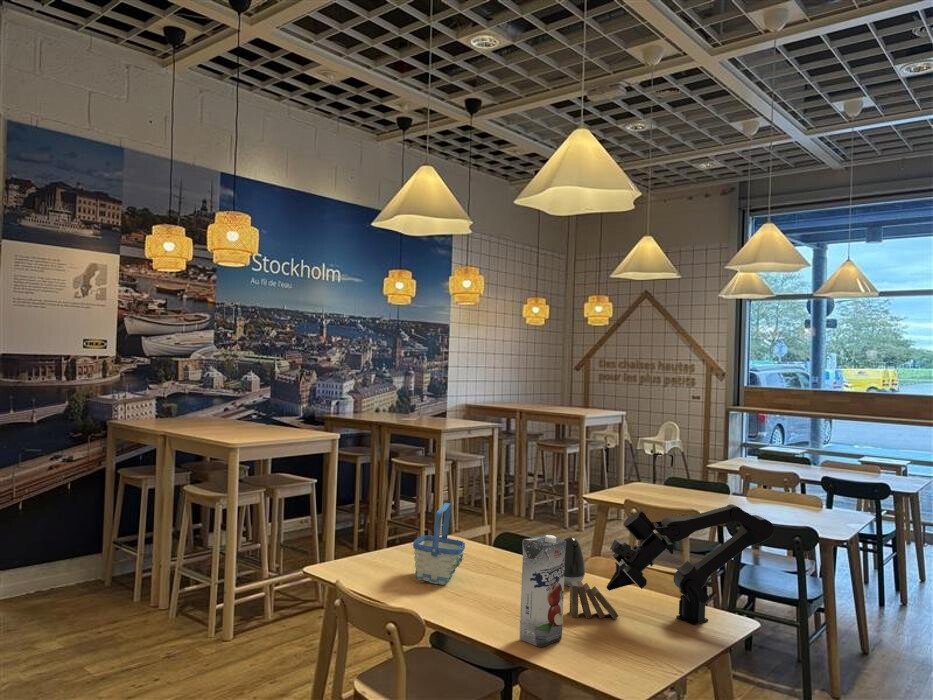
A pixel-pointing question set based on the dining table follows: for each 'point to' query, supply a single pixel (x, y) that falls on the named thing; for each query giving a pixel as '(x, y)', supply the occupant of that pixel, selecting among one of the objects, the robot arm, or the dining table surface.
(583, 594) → the domino
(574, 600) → the domino
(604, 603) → the domino
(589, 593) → the domino
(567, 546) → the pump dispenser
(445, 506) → the basket
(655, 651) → the dining table surface
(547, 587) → the juice carton
